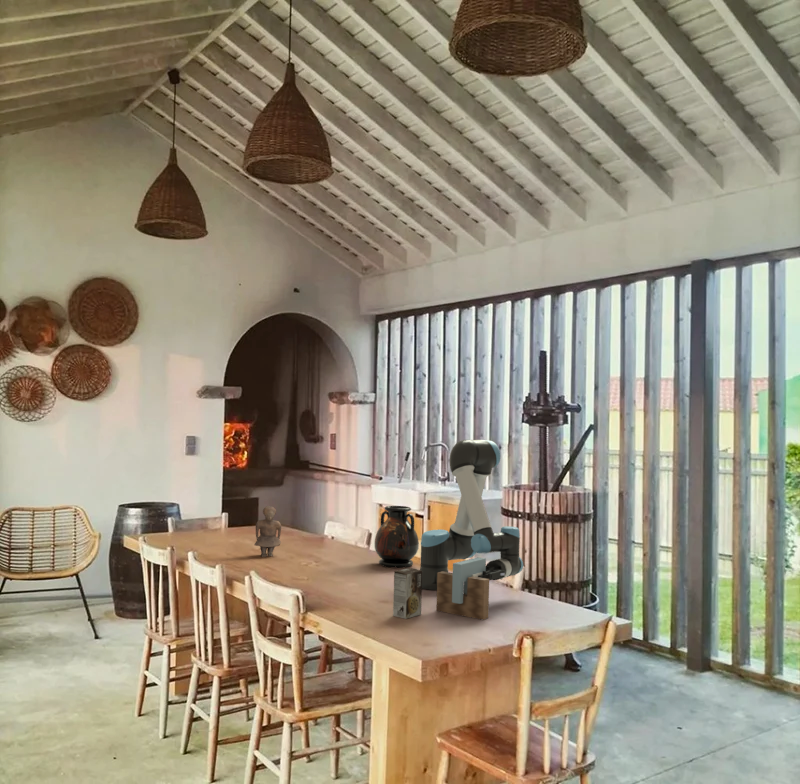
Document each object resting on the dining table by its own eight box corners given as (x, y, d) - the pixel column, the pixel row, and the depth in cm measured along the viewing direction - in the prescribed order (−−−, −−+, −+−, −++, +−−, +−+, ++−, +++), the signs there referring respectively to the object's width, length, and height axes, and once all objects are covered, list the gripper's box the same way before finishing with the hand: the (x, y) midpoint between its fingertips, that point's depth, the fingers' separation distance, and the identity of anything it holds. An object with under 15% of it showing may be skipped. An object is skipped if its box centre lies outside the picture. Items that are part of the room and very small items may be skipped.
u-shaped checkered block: (436, 610, 295) (437, 572, 295) (441, 608, 298) (442, 571, 298) (483, 619, 283) (484, 580, 283) (488, 618, 286) (489, 579, 286)
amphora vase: (426, 565, 386) (428, 507, 387) (401, 571, 368) (403, 510, 369) (390, 559, 398) (392, 503, 399) (364, 565, 380) (366, 506, 381)
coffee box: (407, 611, 292) (409, 567, 292) (421, 614, 288) (423, 570, 288) (392, 615, 285) (393, 570, 285) (406, 619, 281) (407, 573, 281)
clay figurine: (255, 558, 389) (257, 507, 390) (252, 554, 399) (254, 504, 399) (281, 557, 393) (283, 507, 394) (278, 554, 403) (279, 504, 404)
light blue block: (451, 602, 287) (452, 563, 287) (477, 594, 301) (477, 557, 302) (460, 603, 285) (461, 564, 285) (485, 595, 299) (485, 558, 300)
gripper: (516, 581, 306) (486, 591, 287) (479, 576, 316) (448, 584, 297) (517, 562, 307) (487, 570, 288) (479, 557, 316) (448, 564, 297)
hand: (467, 577), depth 292 cm, fingers closed on light blue block, 3 cm apart
